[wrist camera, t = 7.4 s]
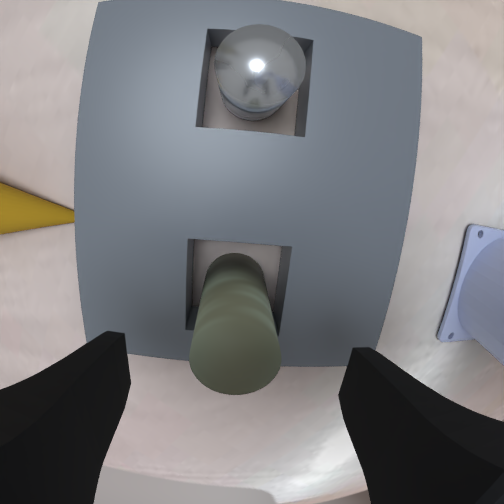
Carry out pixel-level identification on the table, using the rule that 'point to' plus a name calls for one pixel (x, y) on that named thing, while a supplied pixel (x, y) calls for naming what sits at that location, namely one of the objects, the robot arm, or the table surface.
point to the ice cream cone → (29, 211)
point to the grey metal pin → (258, 70)
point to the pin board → (243, 174)
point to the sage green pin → (235, 329)
